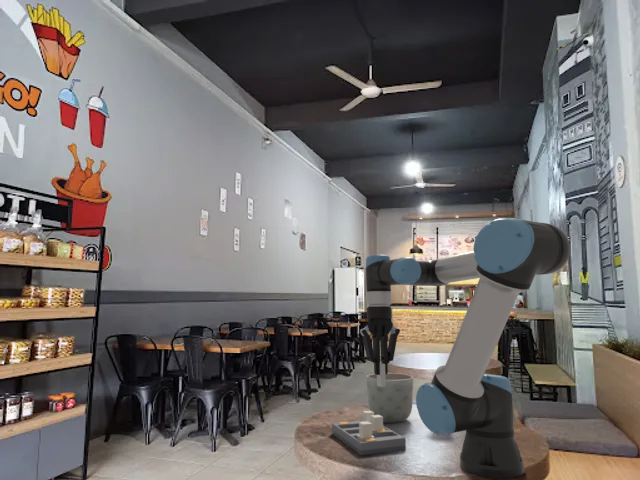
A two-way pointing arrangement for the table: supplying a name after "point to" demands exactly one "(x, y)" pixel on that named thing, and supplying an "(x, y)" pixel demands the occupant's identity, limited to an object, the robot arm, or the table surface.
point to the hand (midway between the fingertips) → (381, 386)
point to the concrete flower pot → (391, 397)
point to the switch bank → (368, 439)
